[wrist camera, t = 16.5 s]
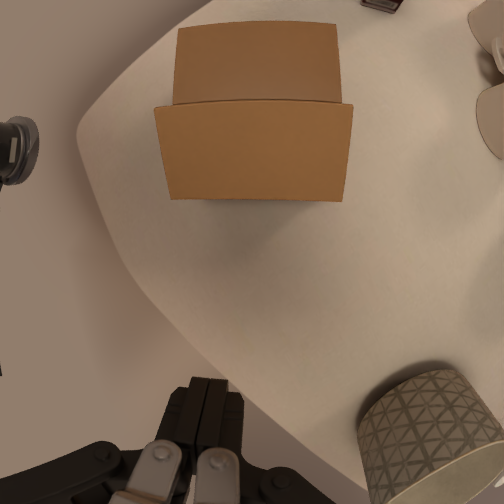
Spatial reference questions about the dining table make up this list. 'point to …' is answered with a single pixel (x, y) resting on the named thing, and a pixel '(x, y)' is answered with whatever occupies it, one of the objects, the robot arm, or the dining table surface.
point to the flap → (255, 149)
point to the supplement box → (383, 4)
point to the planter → (430, 442)
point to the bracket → (500, 47)
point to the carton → (257, 62)
